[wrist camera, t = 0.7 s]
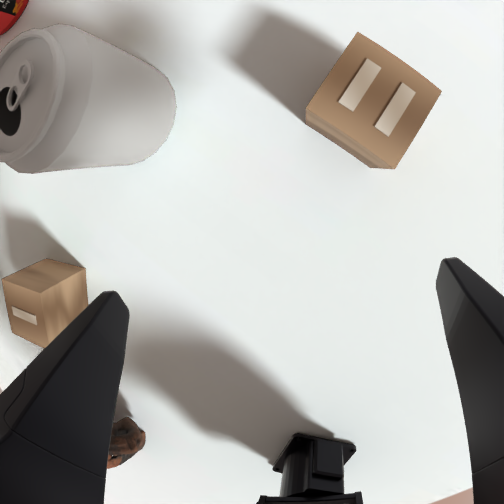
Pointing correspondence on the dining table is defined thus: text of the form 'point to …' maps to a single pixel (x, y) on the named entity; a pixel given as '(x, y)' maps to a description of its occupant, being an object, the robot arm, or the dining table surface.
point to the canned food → (10, 13)
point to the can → (79, 103)
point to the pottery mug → (124, 442)
